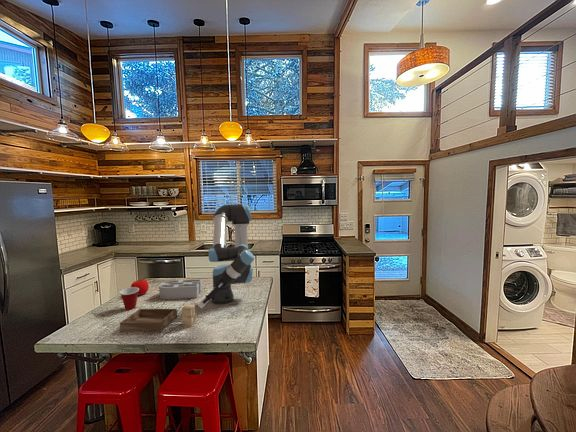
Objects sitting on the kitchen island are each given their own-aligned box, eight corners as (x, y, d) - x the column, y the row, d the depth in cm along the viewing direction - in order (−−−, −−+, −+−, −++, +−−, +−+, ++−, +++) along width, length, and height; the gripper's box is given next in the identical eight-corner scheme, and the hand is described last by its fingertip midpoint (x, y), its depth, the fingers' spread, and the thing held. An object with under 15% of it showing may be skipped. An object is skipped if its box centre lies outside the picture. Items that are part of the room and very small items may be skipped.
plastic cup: (119, 313, 165) (117, 294, 164) (121, 306, 175) (120, 288, 174) (139, 310, 170) (138, 291, 169) (140, 304, 180) (139, 286, 179)
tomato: (150, 295, 196) (149, 280, 195) (131, 298, 190) (130, 283, 189) (147, 290, 206) (146, 276, 205) (130, 293, 200) (129, 278, 199)
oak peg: (186, 322, 152) (185, 304, 151) (195, 322, 151) (194, 305, 151) (182, 326, 147) (181, 308, 146) (191, 326, 146) (191, 308, 146)
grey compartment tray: (197, 298, 189) (197, 286, 188) (155, 300, 186) (155, 288, 185) (202, 290, 205) (202, 279, 205) (164, 292, 203) (163, 280, 202)
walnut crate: (140, 316, 160) (140, 308, 159) (177, 317, 159) (176, 308, 158) (120, 332, 142) (119, 322, 141) (161, 332, 141) (160, 323, 140)
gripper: (229, 286, 133) (201, 316, 135) (240, 272, 158) (216, 297, 159) (218, 275, 133) (190, 306, 134) (231, 263, 158) (207, 289, 159)
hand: (204, 301), depth 147 cm, fingers open, 13 cm apart
